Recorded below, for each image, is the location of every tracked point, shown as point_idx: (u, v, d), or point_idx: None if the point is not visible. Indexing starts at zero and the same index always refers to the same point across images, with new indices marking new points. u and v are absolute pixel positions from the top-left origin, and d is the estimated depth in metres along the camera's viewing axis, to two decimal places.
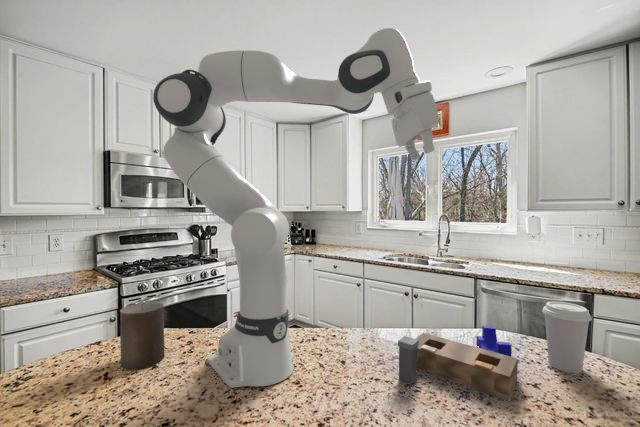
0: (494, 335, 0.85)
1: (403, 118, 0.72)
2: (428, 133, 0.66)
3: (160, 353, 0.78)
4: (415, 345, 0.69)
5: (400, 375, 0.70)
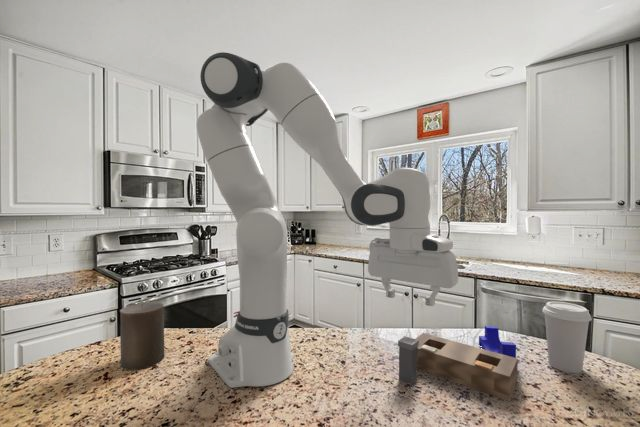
0: (497, 335, 0.85)
1: (406, 258, 0.69)
2: (439, 288, 0.66)
3: (160, 353, 0.78)
4: (415, 345, 0.69)
5: (400, 375, 0.70)
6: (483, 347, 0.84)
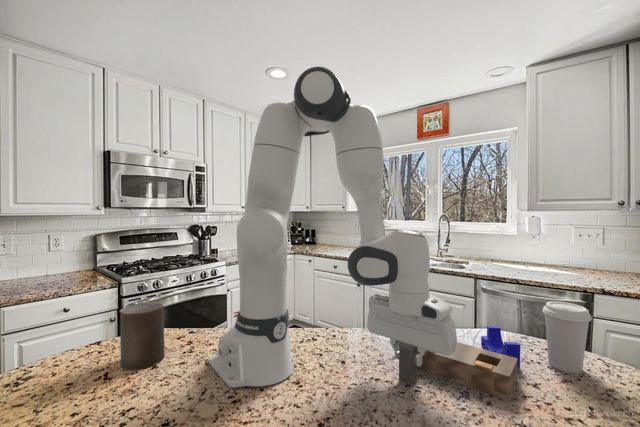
0: (499, 335, 0.85)
1: (405, 320, 0.69)
2: (426, 349, 0.68)
3: (160, 353, 0.78)
4: None
5: (400, 375, 0.70)
6: (486, 347, 0.84)
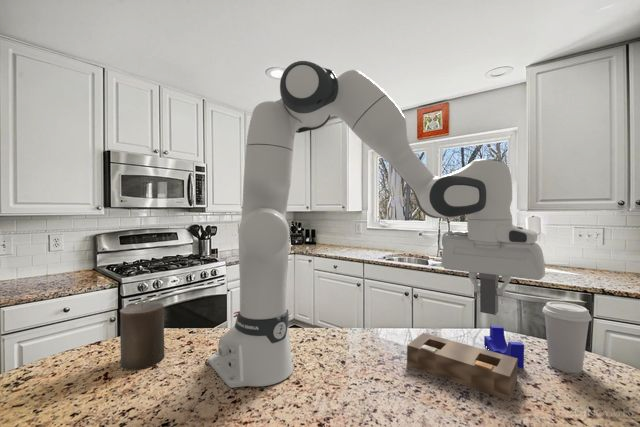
0: (502, 334, 0.85)
1: (487, 251, 0.68)
2: (510, 278, 0.67)
3: (160, 353, 0.78)
4: (497, 275, 0.68)
5: (482, 307, 0.69)
6: (489, 347, 0.84)
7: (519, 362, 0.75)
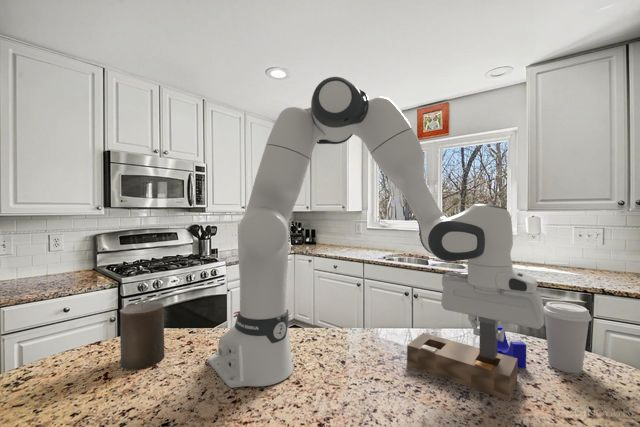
0: None
1: (487, 295, 0.68)
2: (509, 324, 0.67)
3: (160, 353, 0.78)
4: None
5: (481, 351, 0.69)
6: None
7: (521, 362, 0.76)
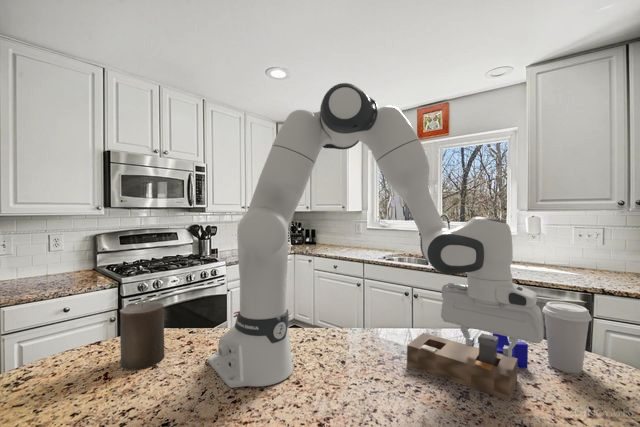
0: None
1: (486, 308, 0.68)
2: (517, 339, 0.66)
3: (160, 353, 0.78)
4: (496, 342, 0.68)
5: None
6: None
7: (523, 362, 0.76)
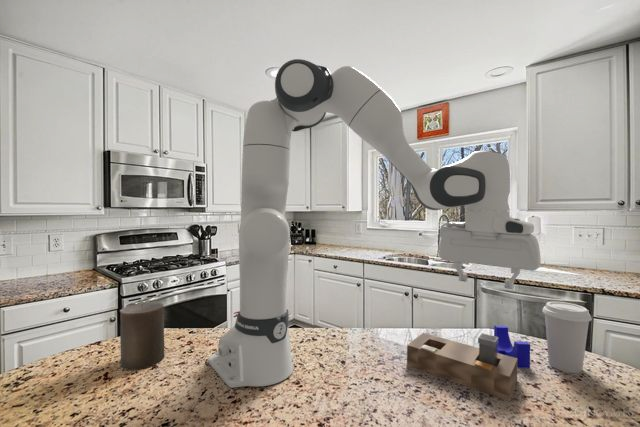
0: (507, 334, 0.86)
1: (484, 242, 0.69)
2: (519, 271, 0.66)
3: (160, 353, 0.78)
4: (496, 342, 0.68)
5: None
6: None
7: (525, 362, 0.76)
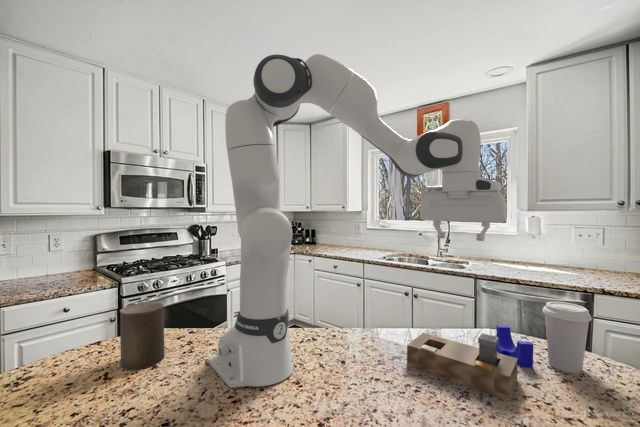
0: (509, 334, 0.86)
1: (458, 201, 0.77)
2: (489, 225, 0.75)
3: (160, 353, 0.78)
4: (496, 342, 0.68)
5: None
6: None
7: (528, 361, 0.76)
